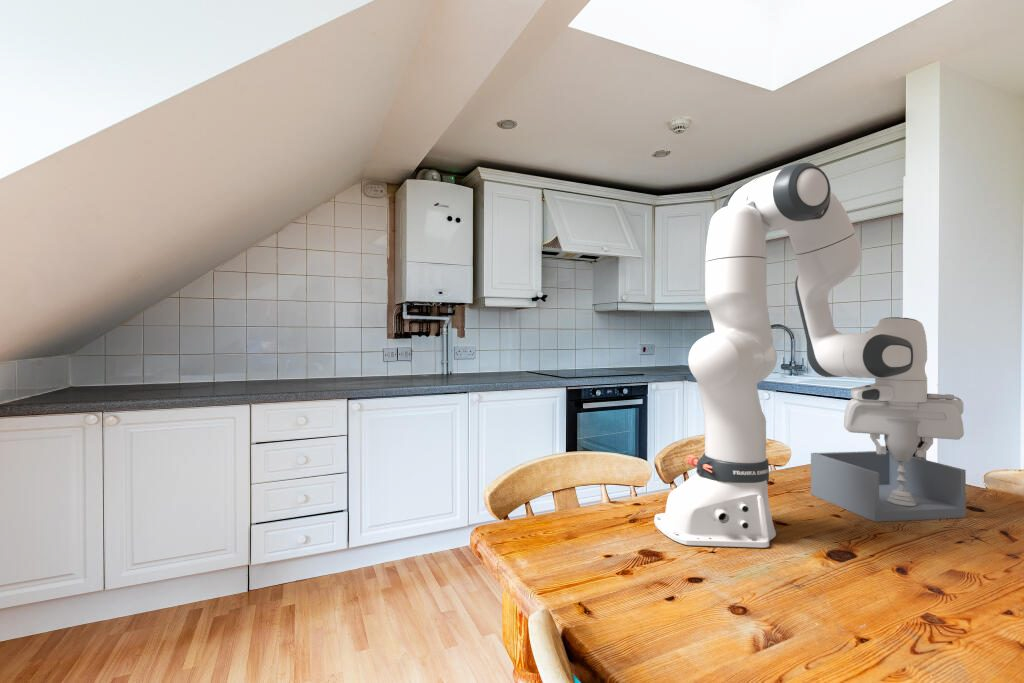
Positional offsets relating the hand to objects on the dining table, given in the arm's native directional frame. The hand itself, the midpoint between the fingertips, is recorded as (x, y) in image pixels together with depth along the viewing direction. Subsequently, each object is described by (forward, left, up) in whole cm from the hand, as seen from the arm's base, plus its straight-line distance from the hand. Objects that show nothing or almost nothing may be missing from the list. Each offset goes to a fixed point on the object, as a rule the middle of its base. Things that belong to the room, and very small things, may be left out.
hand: (900, 456), depth 105 cm
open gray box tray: (0, +5, -12) cm, 13 cm away
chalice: (0, 0, -10) cm, 10 cm away
